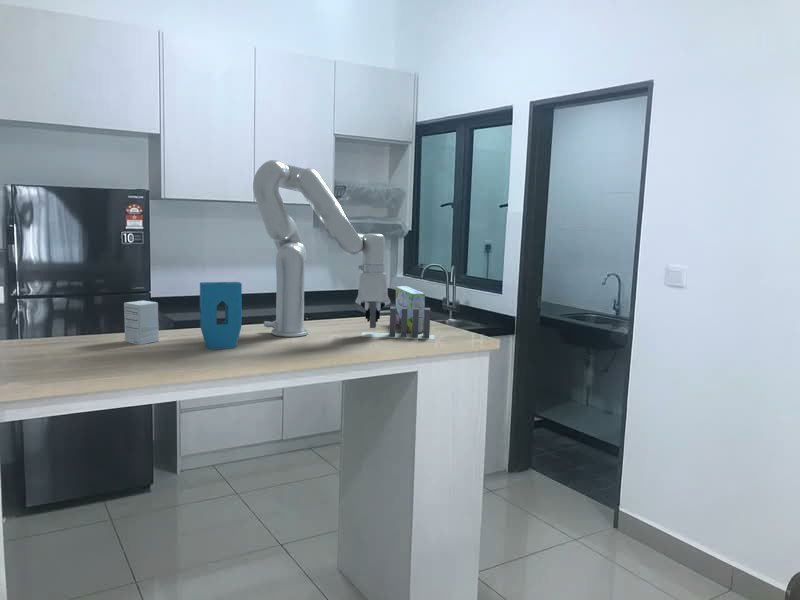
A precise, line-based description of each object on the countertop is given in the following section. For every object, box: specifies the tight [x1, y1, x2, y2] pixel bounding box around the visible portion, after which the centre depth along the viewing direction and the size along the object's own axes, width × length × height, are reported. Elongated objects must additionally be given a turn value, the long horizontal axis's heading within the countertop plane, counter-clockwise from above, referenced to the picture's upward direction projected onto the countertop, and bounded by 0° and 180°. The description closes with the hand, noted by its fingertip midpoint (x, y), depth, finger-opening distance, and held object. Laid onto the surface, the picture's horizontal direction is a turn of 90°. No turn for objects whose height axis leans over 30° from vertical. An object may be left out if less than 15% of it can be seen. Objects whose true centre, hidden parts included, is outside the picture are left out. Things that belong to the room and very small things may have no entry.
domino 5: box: [422, 307, 431, 338], centre depth 222 cm, size 2×5×10 cm, turn 0°
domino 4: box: [411, 307, 419, 339], centre depth 222 cm, size 2×5×10 cm, turn 0°
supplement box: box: [123, 300, 160, 346], centre depth 199 cm, size 7×7×13 cm
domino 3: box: [400, 307, 408, 337], centre depth 222 cm, size 2×5×10 cm, turn 0°
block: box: [199, 281, 243, 350], centre depth 195 cm, size 12×5×20 cm, turn 116°
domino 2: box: [388, 306, 397, 337], centre depth 222 cm, size 2×5×10 cm, turn 0°
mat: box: [360, 331, 436, 340], centre depth 223 cm, size 26×8×1 cm, turn 90°
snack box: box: [395, 285, 426, 333], centre depth 240 cm, size 21×6×15 cm, turn 17°
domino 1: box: [369, 302, 377, 329], centre depth 222 cm, size 2×5×10 cm, turn 0°
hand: (372, 320), depth 223 cm, fingers closed on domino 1, 2 cm apart
